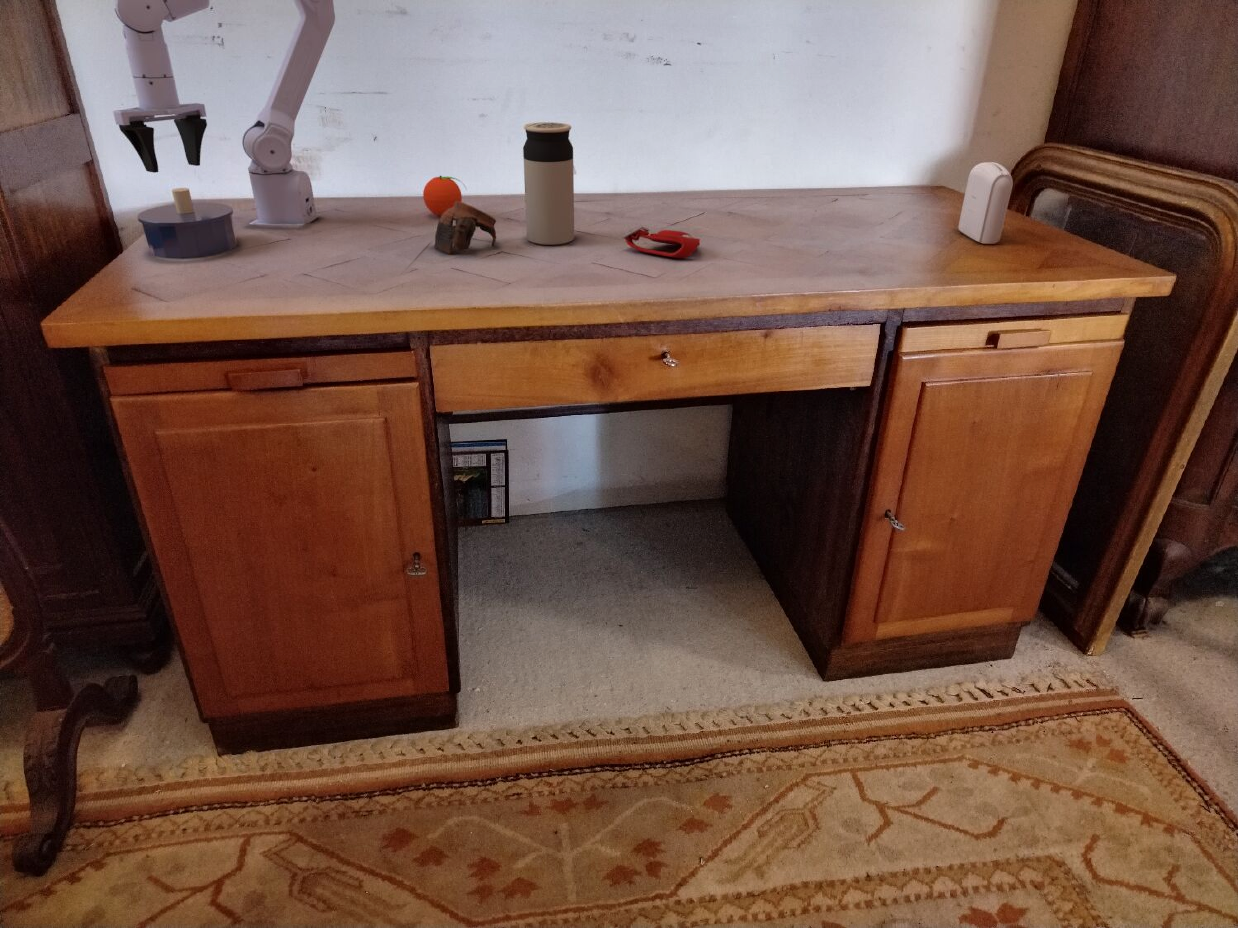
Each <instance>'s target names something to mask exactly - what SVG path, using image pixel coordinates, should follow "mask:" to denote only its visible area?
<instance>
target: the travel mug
mask: <svg viewBox="0 0 1238 928" xmlns="http://www.w3.org/2000/svg"><path fill="white" fill-rule="evenodd" d="M523 129H524V130H525V134H526V140H525V142H524V144H523V147H522V155H523V156H522V157H523V177H524V180H523V181H524V202H525V203H524V204H525V225H526V228H525V229H526V239H527V241H529V242H531V243H533V244H536V245H541V246H560V245H565V244H568V243H570V242H572V241H573V240H575V187H574V185H575V184H574V183H575V182H574V178H575V177H574V147H573V144H572V143H571V140H570V139H569V138H570V131H571V129H572V126H571V124H568V123H563V122H553V121H552V122H550V121H546V122H545V121H544V122H530V123H526V124H525V125H523Z"/></svg>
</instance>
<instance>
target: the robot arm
mask: <svg viewBox="0 0 1238 928" xmlns="http://www.w3.org/2000/svg"><path fill="white" fill-rule="evenodd" d="M210 2H211V0H115V2H114V13H115V14H116V17H117V18H118V20H119V21H120V22H121V23H122V24H123V25H122V34H123V37H124V39H125V42H124V46H125V50H126V55H127V59H128V64H129V68H130V72H131V76H132V80H133V83H134V89H135V92H136V96H137V101H138V106H137V107H132V108H125V109H118V110H113V111H112V114H113V117H114V121H115V125H118V127H119V130H120V132H121V133H122V134H123V135H124V136H125V137H126V139H127V140H128V141H129V143H130V144H131V145H132V147H133V149H134V150H135V151H136V153H137V155H138V157H139V158H140V160H141V162H142V165H143V166H144V168H145V171H146V172H149V173H159V165H158V159H157V155H156V150H155V128H154V127H152V126H147V124H146V123H152V122H162V121H172V120H173V123H174V125H175V127H176V130H177V131H178V134H179V136H180V139H181V141H182V145H183V150H184V154H185V159H186V161H187V164H188V165H189V166H196V167H199V166H201V153H202V142H203V138H204V134H205V132H206V129H207V127H208V122H207V119H206V118H207V111H206V106H205V104H204V103H198V102H194V103H180V98H179V94H178V89H177V85H176V80H175V75H174V71H173V66H172V61H171V57H170V53H169V48H168V44H167V43H166V41H165V36H164V32H163V26H162V25H163V22H164V21H167V22H168V23H172V22H174V21H177V20H180V19H182V18H185V17H188V16H190V15H193V14H196V13H198V12H200V11H203V10H206V9H207V8H209V6H210ZM293 2H294V4H295V5H294V6H296V9H297V11H298V13H299V19H298V22H297V24H296V27H295V29H294V31H293V33H292V37H291V39H290V41H289V44H288V46H287V49H286V51H285V55H284V57H283V59H282V62H281V65H280V67H279V70H278V73H277V75H276V77H275V80H274V83H273V85H272V88H271V90H270V92H269V95H268V98H267V100H266V103H265V105H264V107H263V108H262V109H261V111H259V113H258V114H257V117H256V120H255V122H254V123H253V125H252V124H251V126H250V127H248V128H247V129H246V130H245V132H244V133H243V135H242V138H241V139H242V140H241V143H242V148H243V151H244V153H245V154H246V156H247V157H248V158H249V159H251V161H250V164H249V166H248V167H247V170H248V176H249V180H250V181H249V182H250V185H251V191H252V195H253V200H254V205H255V210H256V215H257V218H256V219H255V220H253V221H251V222H249V225H260V226H261V225H265V226H266V225H267V226H304V225H306V224H310V223H312V222H313V221H315V220H316V219H318V218H319V214H317V210H316V205H315V198H314V197H315V196H314V191H313V185H312V182H311V178H310V176H309V174H308V173H307V172H306V171H304V170H297V169H294V167H293V164H291V161H292V156H293V152H292V143H293V139H294V137H295V125H296V123H295V122H296V119H297V117H298V115H299V112H300V110H301V107H302V105H303V102H304V100H305V98H306V94H307V92H308V89H309V87H310V85H311V82H312V80H313V77H314V75H315V72H316V70H317V67H318V65H319V62H320V60H321V57H322V55H323V53H324V50H325V47H326V45H327V42H328V40H329V37H330V36H331V32H332V30H333V27H334V25H335V22H336V14H335V6H334V0H293Z"/></svg>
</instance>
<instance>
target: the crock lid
mask: <svg viewBox="0 0 1238 928" xmlns="http://www.w3.org/2000/svg"><path fill="white" fill-rule="evenodd" d="M171 193H172V198H173V201H174V203H172V204H166V205H161V206H156V207H152V208H151V207H150V208H149V209H146V210H143V211H141V212H139V213H138V214H137V220H138V222H139V223H141V224H142V223H143V224H147V225H154V226H187V225H197V224H204V223H209V222H214V221H218V220H221V219H224V218H227V217H229V216H233V214H234V209H233V207H232V206H231V205H228V204H225V203H217V202H193V199H192V196H191V191H190V188H189V187H177V188H173V189H171Z"/></svg>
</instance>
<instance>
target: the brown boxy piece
mask: <svg viewBox="0 0 1238 928" xmlns="http://www.w3.org/2000/svg"><path fill="white" fill-rule="evenodd" d="M454 221H455V225H453V224H454ZM496 223H497V220H496V219H495V218H494V217H493V216H491V215H489V214H488V213H486V212H485V211H482V210H481V209H478V208H476V207H474V206H473V205H470V204H467V203H465V202H462V201H461V202H459V201H455V203H454V206H453V207H452V208H450V209H448V210H446V211H445V212H444V213H443V214H442V216H440V218H439V220H438V222H437V226H436V231H435V235H434V245H433V247H434V248H436V249H437V250H439V251H441V252H443V253H446V254H448V255H451V254H452V247H453V246H454V248H455V249H457V250H458V251H464V250H469V249H470V246H471V241H472V238H473V236H474V234H475V232H476V230H477V228H479V229H480V230H481V231H483V232H485V233H488V234H489V235H490V236H491V237H492V241H491V247H492V248H494V246H495V245H496V241H497V231H496V228H495V225H496Z"/></svg>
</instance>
